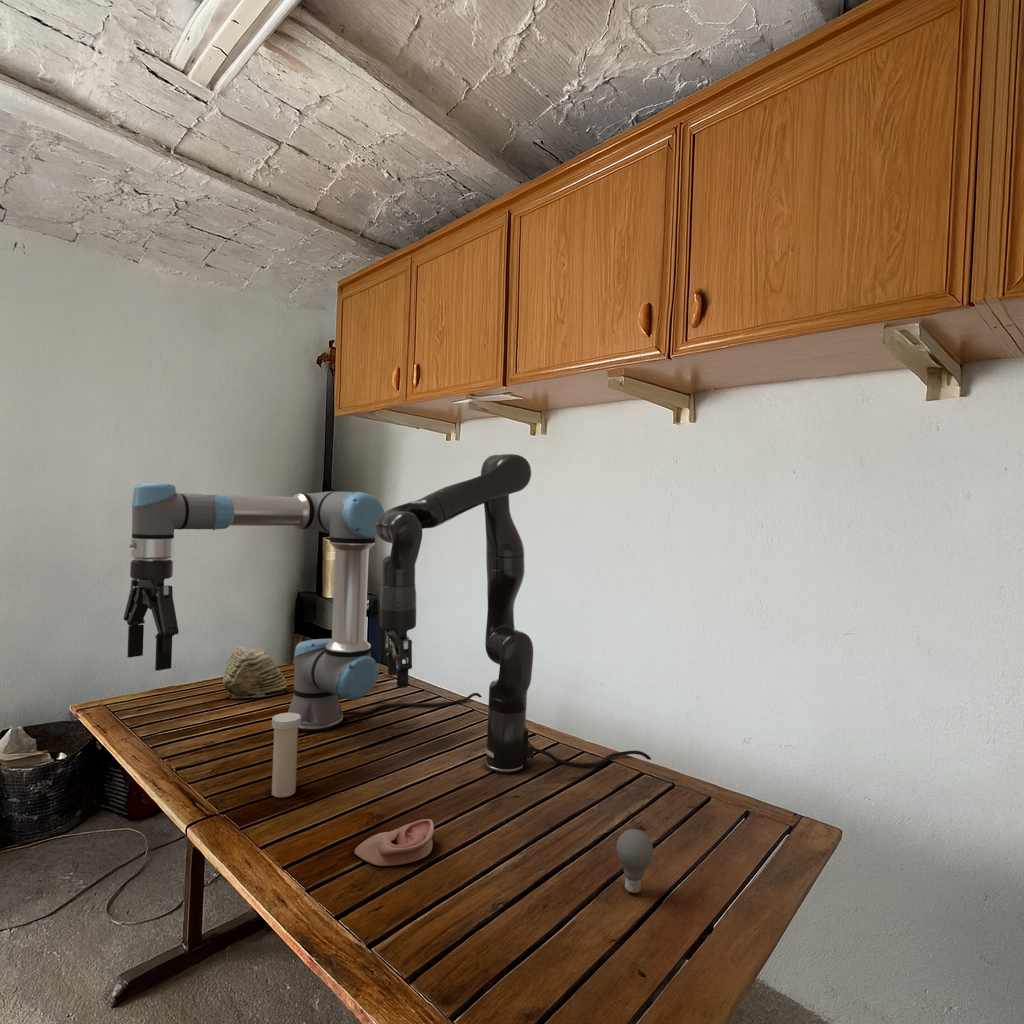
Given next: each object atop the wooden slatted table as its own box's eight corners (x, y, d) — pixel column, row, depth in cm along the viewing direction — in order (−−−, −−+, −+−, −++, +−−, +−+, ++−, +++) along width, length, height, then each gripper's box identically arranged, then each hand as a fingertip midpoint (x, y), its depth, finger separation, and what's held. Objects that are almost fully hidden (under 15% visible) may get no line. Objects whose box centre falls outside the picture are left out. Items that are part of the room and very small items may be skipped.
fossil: (218, 695, 195) (220, 647, 195) (278, 685, 208) (279, 640, 207) (228, 703, 189) (230, 653, 188) (289, 692, 201) (290, 645, 201)
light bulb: (610, 879, 108) (613, 822, 108) (644, 879, 109) (647, 822, 109) (619, 902, 102) (622, 840, 102) (655, 901, 103) (658, 840, 103)
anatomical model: (347, 838, 110) (374, 807, 122) (346, 860, 111) (373, 828, 122) (419, 850, 108) (440, 817, 119) (418, 873, 108) (439, 838, 119)
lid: (266, 724, 135) (266, 716, 135) (291, 718, 139) (292, 710, 139) (280, 732, 131) (280, 724, 131) (305, 725, 135) (306, 717, 135)
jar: (267, 791, 135) (269, 718, 135) (288, 784, 139) (291, 713, 138) (278, 799, 132) (281, 725, 131) (300, 792, 135) (303, 719, 135)
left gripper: (108, 554, 134) (104, 654, 134) (159, 565, 118) (155, 678, 119) (146, 552, 140) (143, 648, 140) (199, 563, 124) (195, 671, 124)
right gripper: (424, 611, 128) (423, 689, 129) (407, 597, 141) (406, 668, 142) (387, 614, 125) (387, 694, 126) (373, 599, 138) (373, 672, 139)
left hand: (148, 662), depth 129 cm, fingers open, 13 cm apart
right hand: (397, 680), depth 134 cm, fingers open, 8 cm apart
